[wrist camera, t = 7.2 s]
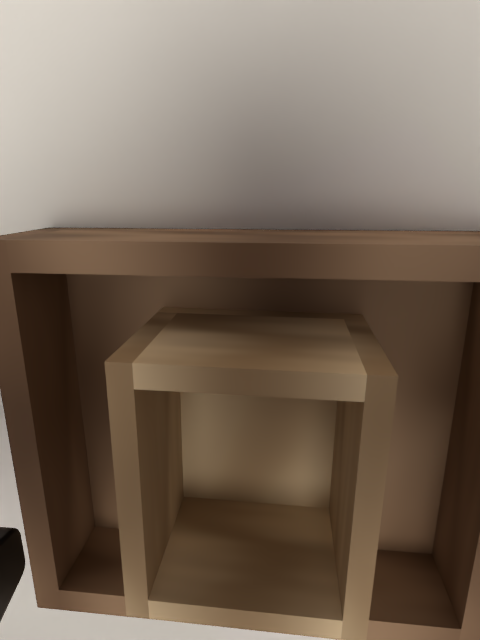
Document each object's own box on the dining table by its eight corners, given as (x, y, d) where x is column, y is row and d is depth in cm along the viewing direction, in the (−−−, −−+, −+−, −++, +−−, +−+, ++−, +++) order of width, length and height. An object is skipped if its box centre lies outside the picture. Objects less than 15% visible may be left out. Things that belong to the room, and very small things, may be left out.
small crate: (171, 498, 16) (126, 616, 11) (163, 307, 14) (104, 361, 9) (344, 512, 15) (366, 642, 11) (362, 314, 13) (398, 376, 9)
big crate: (86, 526, 17) (37, 607, 14) (49, 227, 14) (-26, 239, 11) (445, 556, 16) (486, 653, 13) (498, 231, 13) (573, 246, 9)
